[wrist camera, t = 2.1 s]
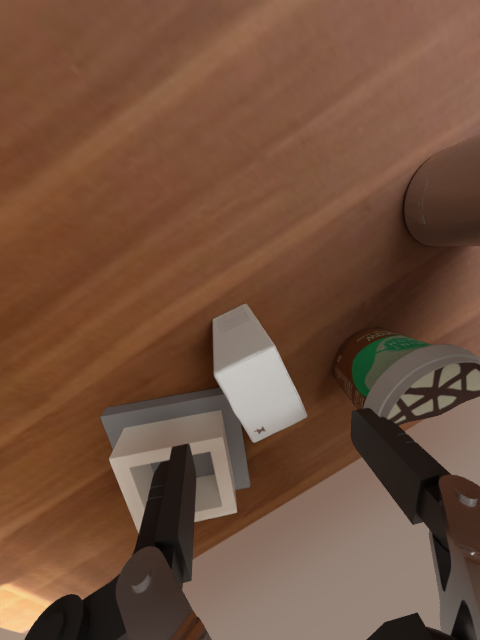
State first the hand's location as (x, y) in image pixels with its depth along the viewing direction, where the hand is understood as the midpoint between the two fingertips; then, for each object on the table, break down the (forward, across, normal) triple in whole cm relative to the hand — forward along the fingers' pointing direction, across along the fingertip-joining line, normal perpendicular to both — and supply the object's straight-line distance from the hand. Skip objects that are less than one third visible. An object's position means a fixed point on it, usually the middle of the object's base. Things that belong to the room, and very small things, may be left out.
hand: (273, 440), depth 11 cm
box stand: (+15, +8, +14) cm, 22 cm away
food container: (+15, -15, +4) cm, 22 cm away
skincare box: (+15, 0, 0) cm, 15 cm away
